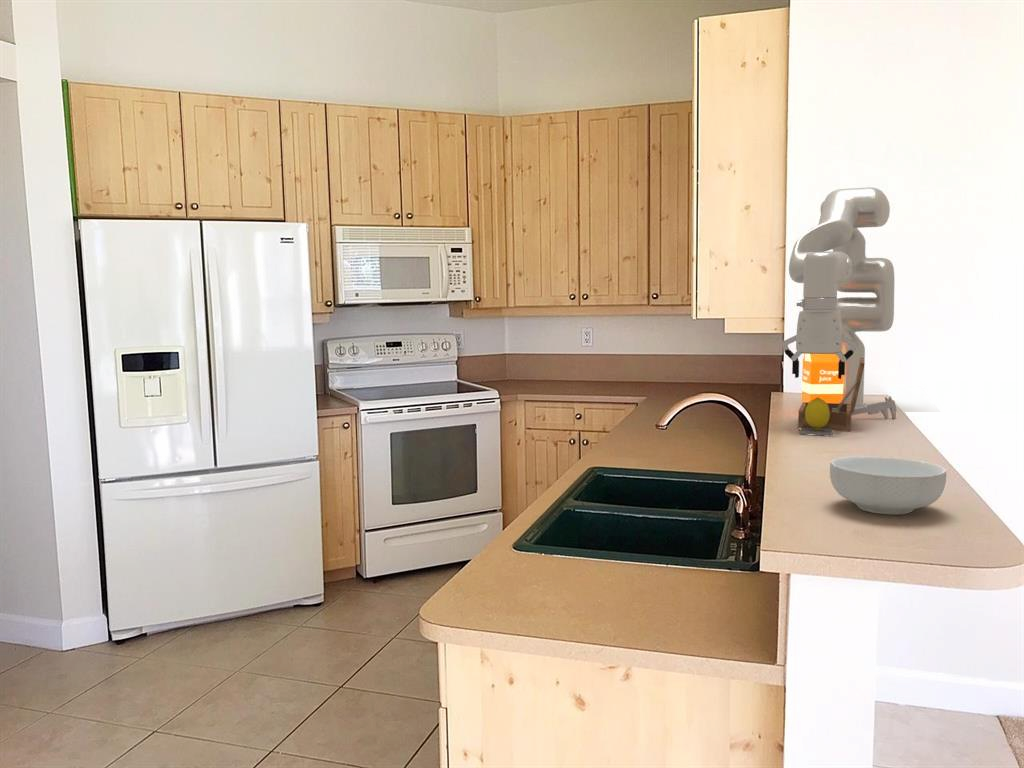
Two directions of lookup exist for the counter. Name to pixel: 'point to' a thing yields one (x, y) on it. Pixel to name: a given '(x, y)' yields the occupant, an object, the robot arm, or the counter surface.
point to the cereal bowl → (887, 483)
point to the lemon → (817, 413)
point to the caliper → (878, 408)
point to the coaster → (816, 431)
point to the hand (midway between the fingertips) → (818, 377)
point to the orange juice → (821, 378)
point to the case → (837, 408)
